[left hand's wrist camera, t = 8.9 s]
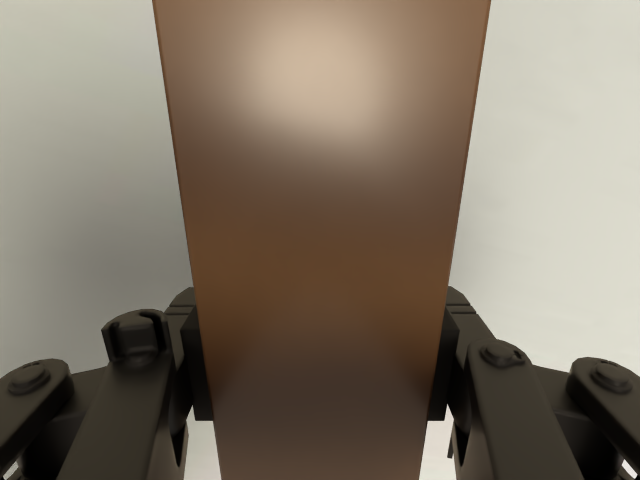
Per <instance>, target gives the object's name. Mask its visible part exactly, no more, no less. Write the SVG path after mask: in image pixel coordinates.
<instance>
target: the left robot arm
mask: <svg viewBox="0 0 640 480" xmlns="http://www.w3.org/2000/svg"><path fill="white" fill-rule="evenodd" d="M101 332H102V335H103V339H104V343H105V346H106V350H107V354H108V357H109V363H108V366H106V367H102V368H99V369H94V370H89V371H85V372H80V373H75V374H71V373H70V370H69V367H68V364H66V363H65V362H64V361H63V360H58V359H45V360H39V361H34V362H32V363H28V364H25V365H23V366H21V367H19V368H17V369H15V370H13V371H11V372H9V373H8V374H6V375H5V376H4V377H2V378H1V379H0V480H4V478H3V475H4V474H5V473H6V472H7V471H8V470H9V468H10V467H11V466H12V465H13V464H14V462H15V461H16V462H17V464H18V466H19V467H18V468H17V470H16V471H15V472H14V473H13V474H12V475H11V476H10V477H9V478H8V479H7V480H184V471H185V462H186V454H187V445H188V436H189V435H188V427H187V422H186V419H187V417H188V414H189V412H190V409H191V407H192V405H193V410H194V415H195V421H213V417H212V410H211V403H210V396H209V390H208V383H207V376H206V369H205V362H204V355H203V348H202V341H201V334H200V327H199V321H198V314H197V307H196V300H195V293H194V287H189V288H187V289H186V290H184V291H183V292H181V293H180V294H178V295H177V296H176V297H175V298H174V300H173V301H172V303H171V304H170V306H169V307H168V308H167V309H166V311H165V312H164V313H163V312H162V311H159V310H155V309H141V310H136V311H131V312H128V313H125V314H122V315H120V316H117V317H116V318H114V319H113V320H111V321H109V322H108V323H107V324H106V325H105V326H104V327H103V328H102V329H101ZM447 404H448V406H449V408H450V411H451V413H452V416H453V418H454V422H453V427H452V433H451V438H450V443H449V449H448V456H447V458H451V459H452V456H453V453H454V462H455V470H456V479H457V480H640V377H639V376H638V375H636V374H635V373H633V372H632V371H631V370H629V369H627V368H625V367H623V366H620V365H618V364H617V363H614V362H611V361H607V360H604V359H600V358H592V357H584V358H578V359H577V360H575V361H574V362H573V363H572V366H571V369H570V372H569V373H567V372H563V371H558V370H553V369H548V368H544V367H540V366H536V365H532V363H531V361H530V359H529V358H528V357H527V355H526V354H525V353H524V352H523V351H521V350H520V349H519V348H517V347H516V346H514V345H512V344H510V343H508V342H505V341H502V340H498V339H496V338H495V337H494V335H493V334H492V333H491V331H490V330H489V329H488V327H487V326H486V325H485V323H484V322H483V320H482V319H481V318H480V316H479V315H478V314H476V311H475V310H474V308H473V307H472V306H470V303H469V302H468V300H467V299H466V297H465V296H464V295H463V294H462V293H460V292H459V291H457V290H456V289H454V288H453V287H451V286H448V289H447V296H446V303H445V309H444V316H443V323H442V329H441V336H440V342H439V349H438V356H437V362H436V369H435V376H434V382H433V389H432V395H431V402H430V409H429V415H428V421H444V419H445V414H446V408H447ZM624 459H625V460H626V461H627V462H628V464H629V465H630V466H631V467H632V468H633V470H634V471H635V472H636V473H637V474H638V475H637V477H636V478H635V479H634V478H633V477H631V476H630V475H629V474H628V473H627V471H626V470H625V469H624V468H623V467H622V463H623V461H624Z"/></svg>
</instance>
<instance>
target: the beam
mask: <svg viewBox="0 0 640 480" xmlns="http://www.w3.org/2000/svg"><path fill="white" fill-rule="evenodd" d="M152 3H153V10H154V17H155V24H156V31H157V38H158V45H159V52H160V58H161V65H162V72H163V79H164V86H165V93H166V100H167V107H168V114H169V121H170V127H171V134H172V141H173V148H174V155H175V162H176V169H177V176H178V183H179V190H180V196H181V203H182V210H183V217H184V224H185V231H186V238H187V245H188V252H189V258H190V265H191V272H192V279H193V286H194V293H195V300H196V307H197V314H198V321H199V327H200V334H201V341H202V348H203V355H204V362H205V369H206V376H207V383H208V390H209V396H210V403H211V410H212V417H213V424H214V431H215V438H216V445H217V452H218V458H219V465H220V472H221V479H222V480H419V475H420V468H421V462H422V455H423V448H424V442H425V435H426V429H427V422H428V415H429V409H430V402H431V395H432V389H433V382H434V376H435V369H436V362H437V356H438V349H439V342H440V336H441V329H442V323H443V316H444V309H445V303H446V296H447V289H448V283H449V276H450V270H451V263H452V256H453V250H454V243H455V236H456V230H457V223H458V216H459V210H460V203H461V197H462V190H463V183H464V177H465V170H466V163H467V157H468V150H469V144H470V137H471V130H472V124H473V117H474V110H475V104H476V97H477V91H478V84H479V77H480V71H481V64H482V57H483V51H484V44H485V38H486V31H487V24H488V18H489V11H490V4H491V0H152Z"/></svg>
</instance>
